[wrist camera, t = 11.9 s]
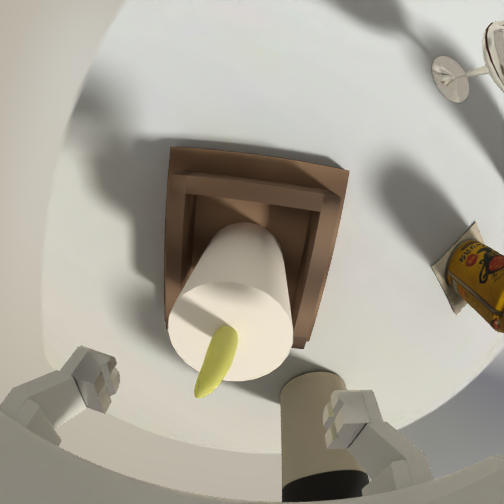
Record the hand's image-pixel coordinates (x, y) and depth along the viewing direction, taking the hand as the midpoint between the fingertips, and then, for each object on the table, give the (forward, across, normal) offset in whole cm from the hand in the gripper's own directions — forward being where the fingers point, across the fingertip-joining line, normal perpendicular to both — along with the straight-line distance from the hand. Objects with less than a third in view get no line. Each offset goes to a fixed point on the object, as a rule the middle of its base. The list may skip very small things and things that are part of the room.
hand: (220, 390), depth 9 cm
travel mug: (+16, -10, +18) cm, 26 cm away
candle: (+15, 0, +1) cm, 15 cm away
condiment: (+17, -24, 0) cm, 29 cm away
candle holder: (+16, 0, +1) cm, 16 cm away
